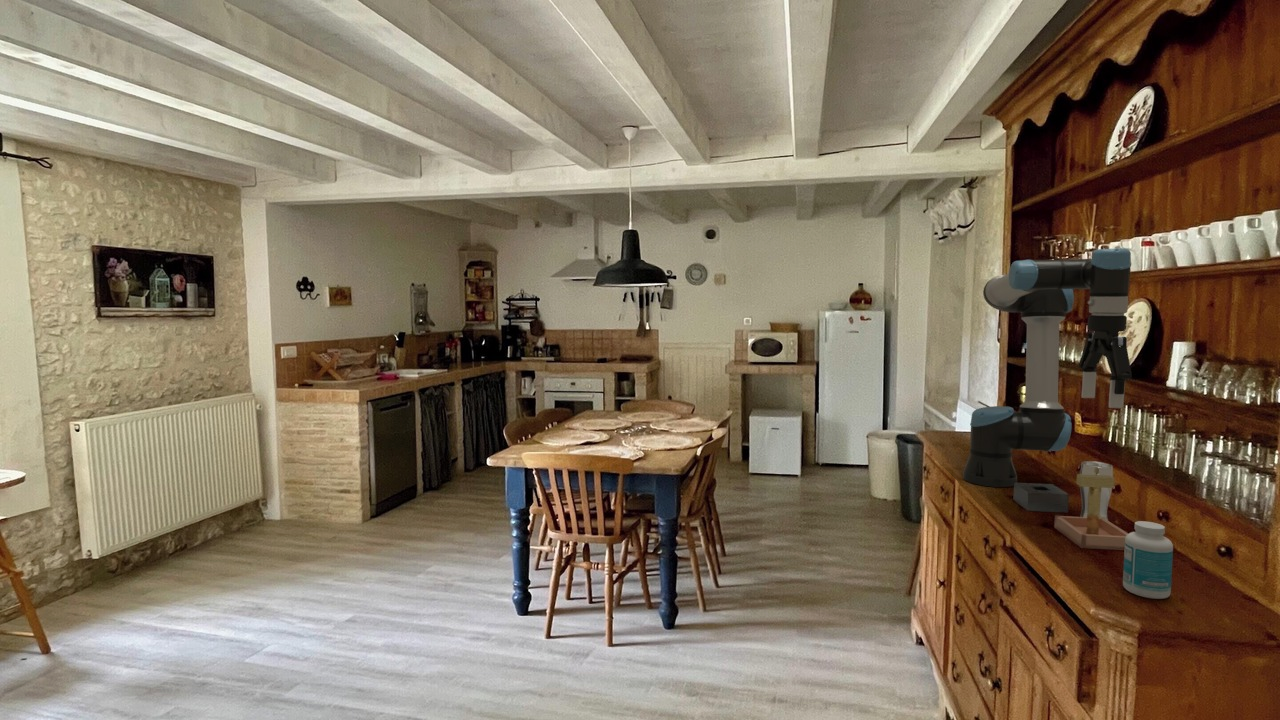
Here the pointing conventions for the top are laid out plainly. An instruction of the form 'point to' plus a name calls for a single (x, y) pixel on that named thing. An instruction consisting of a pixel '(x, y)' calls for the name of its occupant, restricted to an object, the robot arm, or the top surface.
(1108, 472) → the beer glass
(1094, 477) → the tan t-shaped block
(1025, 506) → the grey square block
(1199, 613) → the top surface
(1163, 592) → the pill bottle
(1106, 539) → the pale pink tray
